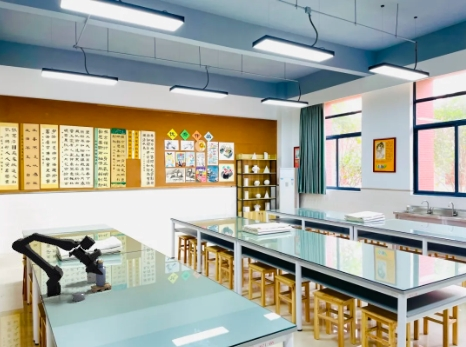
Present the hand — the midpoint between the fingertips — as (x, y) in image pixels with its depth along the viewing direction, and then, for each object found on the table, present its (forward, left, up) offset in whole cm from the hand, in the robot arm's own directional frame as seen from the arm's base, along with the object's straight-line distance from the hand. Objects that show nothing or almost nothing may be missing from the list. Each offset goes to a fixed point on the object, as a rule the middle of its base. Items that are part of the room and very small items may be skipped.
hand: (103, 273), depth 205 cm
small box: (0, +18, -10) cm, 21 cm away
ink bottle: (-1, 0, -7) cm, 7 cm away
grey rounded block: (-15, -9, -9) cm, 20 cm away
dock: (-1, 0, -9) cm, 9 cm away
